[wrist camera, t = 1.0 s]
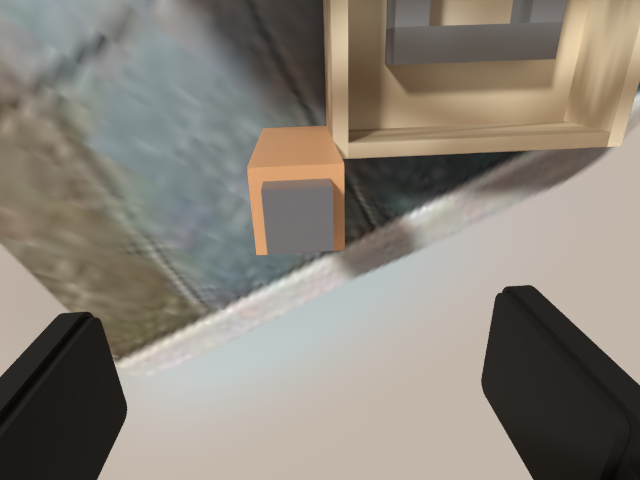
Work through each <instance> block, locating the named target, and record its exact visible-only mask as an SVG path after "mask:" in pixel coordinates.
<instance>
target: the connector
mask: <svg viewBox="0 0 640 480" xmlns="http://www.w3.org/2000/svg"><path fill="white" fill-rule="evenodd" d="M247 173H248V182H249V191H250V200H251V209H252V218H253V227H254V236H255V245H256V254H257V255H268V254H286V253H303V252H321V251H339V250H345V201H344V162H343V160H342V158H341V156H340V154H339V152H338V150H337V147H336V145H335V143H334V141H333V139H332V137H331V135H330V133H329V131H328V129H327V127H326V126H304V127H281V128H263V130H262V133H261V135H260V137H259V140H258V142H257V145H256V147H255V150H254V152H253V155H252V157H251V159H250V162H249V164H248V167H247Z"/></svg>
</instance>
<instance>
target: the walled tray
mask: <svg viewBox="0 0 640 480" xmlns="http://www.w3.org/2000/svg"><path fill="white" fill-rule="evenodd" d="M323 23H324V64H325V105H326V127H327V129H328V131H329V133H330V135H331V137H332V139H333V141H334V143H335V145H336V147H337V150H338V152H339V154H340V156H341V158H342V159H353V158H375V157H397V156H419V155H441V154H462V153H484V152H506V151H528V150H550V149H572V148H593V147H615V146H621V144H622V141H623V137H624V134H625V130H626V127H627V123H628V120H629V116H630V113H631V109H632V106H633V102H634V98H635V95H636V91H637V88H638V84H639V81H640V0H323Z"/></svg>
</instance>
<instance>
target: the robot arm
mask: <svg viewBox="0 0 640 480" xmlns="http://www.w3.org/2000/svg"><path fill="white" fill-rule="evenodd" d="M481 380H482V381H481V382H482V388H483V392H484V394H485V396H486V398H487V400H488V401H489V403H490V405H491V407H492V408H493V410H494V412H495V414H496V415H497V417H498V419H499V421H500V422H501V424H502V426H503V427H504V429H505V431H506V433H507V434H508V436H509V438H510V440H511V441H512V443H513V445H514V447H515V448H516V450H517V452H518V454H519V455H520V457H521V459H522V460H523V462H524V464H525V466H526V467H527V469H528V471H529V473H530V474H531V476H532V478H533V479H534V480H640V385H639V384H638V383H637V382H635V381H634V380H633V379H632V378H631V377H630V376H629V375H628V374H627V373H626V372H625V371H624V370H622V369H621V368H620V367H619V366H618V365H617V364H616V363H615V362H614V361H613V360H612V359H611V358H610V357H609V356H608V355H606V354H605V353H604V352H603V351H602V350H601V349H600V348H599V347H598V346H597V345H596V344H595V343H594V342H593V341H591V340H590V339H589V338H588V337H587V336H586V335H585V334H584V333H583V332H582V331H581V330H580V329H579V328H578V327H576V326H575V325H574V324H573V323H572V322H571V321H570V320H569V319H568V318H567V317H565V315H564V314H563V313H561V312H560V311H559V310H558V309H557V308H556V307H555V306H554V305H553V304H552V303H551V302H550V301H549V300H548V299H546V298H545V297H544V296H543V295H542V294H541V293H540V292H539V291H538V290H537V289H536V288H535V287H533V286H531V285H525V286H509V287H505V288H504V289H503V291H502V293H498V294H497V296H496V298H495V303H494V309H493V315H492V321H491V326H490V332H489V338H488V344H487V350H486V356H485V361H484V367H483V373H482V379H481ZM126 414H127V404H126V400H125V397H124V394H123V390H122V387H121V384H120V381H119V377H118V374H117V371H116V368H115V364H114V361H113V358H112V355H111V352H110V348H109V345H108V342H107V339H106V335H105V332H104V329H103V326H102V323H101V320H100V319H99V318H94V317H93V315H92V314H91V313H90V312H75V313H62V314H60V315H58V316H57V317H56V318H55V319H54V320H53V321H52V322H51V323H50V325H48V327H47V328H46V329H45V330H44V331H43V332H42V333H41V334H40V335H39V336H38V337H37V339H35V340H34V342H33V343H32V344H31V345H30V346H29V347H28V348H27V349H26V350H25V351H24V352H23V353H22V354H21V356H20V357H19V358H18V359H17V360H16V361H15V362H14V363H13V364H12V365H11V366H10V367H9V369H7V371H6V372H5V373H4V374H3V375H2V376H1V377H0V480H97V478H98V476H99V474H100V472H101V470H102V468H103V466H104V463H105V462H106V459H107V457H108V455H109V453H110V451H111V449H112V447H113V445H114V442H115V440H116V438H117V436H118V434H119V432H120V430H121V427H122V426H123V423H124V421H125V419H126Z"/></svg>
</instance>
